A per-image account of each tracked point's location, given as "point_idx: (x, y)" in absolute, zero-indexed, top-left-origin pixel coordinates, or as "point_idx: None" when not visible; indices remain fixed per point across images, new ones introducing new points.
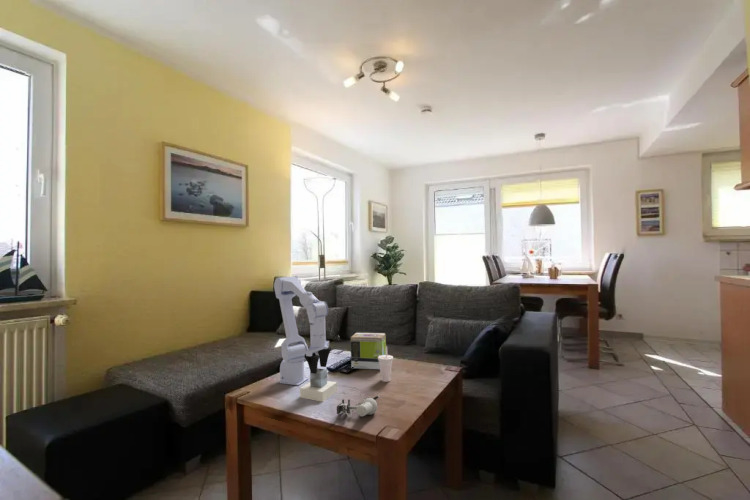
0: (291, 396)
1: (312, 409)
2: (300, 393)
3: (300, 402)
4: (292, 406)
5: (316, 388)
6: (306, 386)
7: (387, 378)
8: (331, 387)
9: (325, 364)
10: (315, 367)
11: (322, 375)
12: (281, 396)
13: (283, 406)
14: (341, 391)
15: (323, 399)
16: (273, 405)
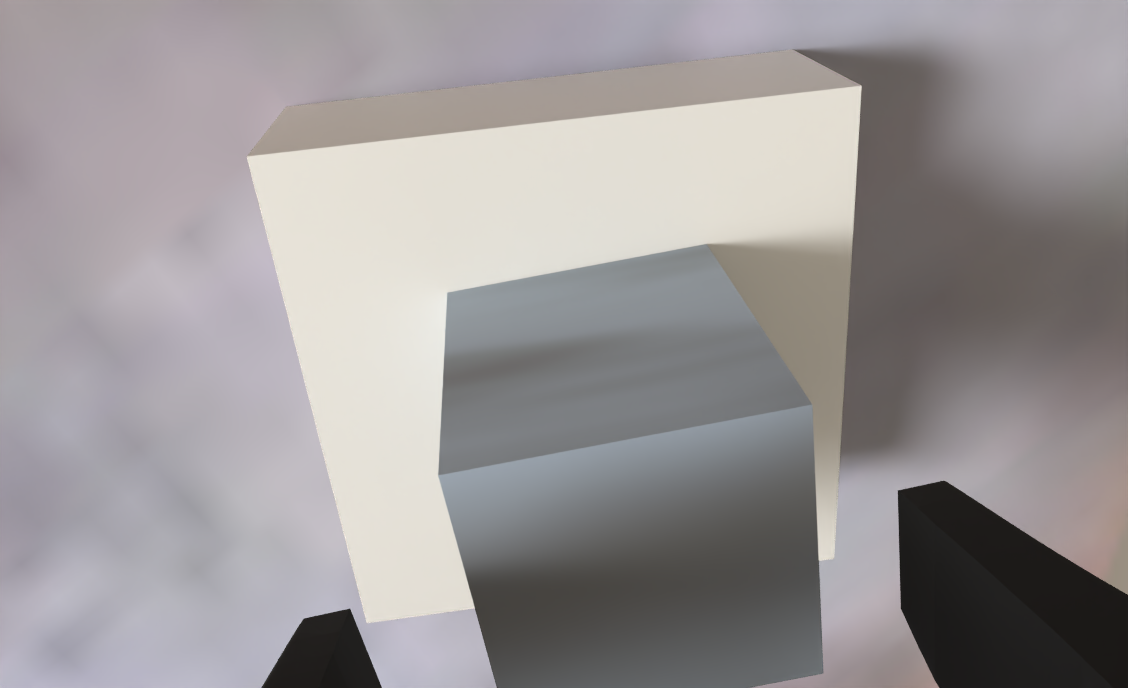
0: None
1: (1111, 11)
2: None
3: (932, 349)
4: (1081, 353)
5: None
6: None
7: None
8: (503, 117)
9: (333, 664)
10: (1106, 596)
11: (695, 377)
12: (847, 662)
13: (1107, 449)
14: (234, 27)
15: (786, 56)
16: (1107, 561)
